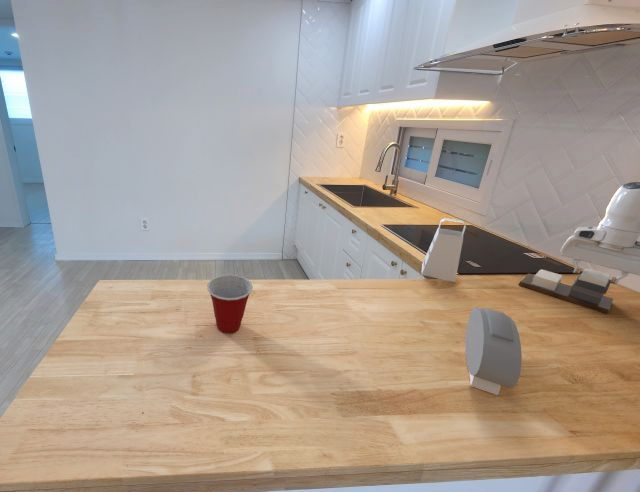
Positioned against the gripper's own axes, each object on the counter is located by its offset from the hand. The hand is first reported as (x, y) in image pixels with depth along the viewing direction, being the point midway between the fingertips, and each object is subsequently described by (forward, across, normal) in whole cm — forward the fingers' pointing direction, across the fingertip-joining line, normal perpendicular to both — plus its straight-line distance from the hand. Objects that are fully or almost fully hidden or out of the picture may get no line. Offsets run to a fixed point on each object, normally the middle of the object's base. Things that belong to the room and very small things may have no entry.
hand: (594, 277), depth 106 cm
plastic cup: (+8, +54, +104) cm, 118 cm away
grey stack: (+6, 0, 0) cm, 6 cm away
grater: (+8, +37, +21) cm, 43 cm away
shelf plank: (+8, +5, 0) cm, 9 cm away
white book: (0, 0, 0) cm, 0 cm away
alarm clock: (+8, +10, +67) cm, 68 cm away
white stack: (+6, +10, 0) cm, 12 cm away
